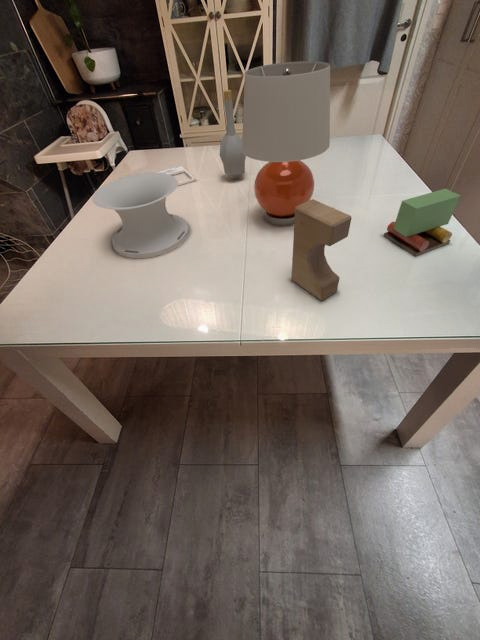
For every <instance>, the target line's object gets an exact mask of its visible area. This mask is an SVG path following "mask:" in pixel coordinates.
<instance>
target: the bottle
mask: <svg viewBox="0 0 480 640" xmlns="http://www.w3.org/2000/svg"><path fill="white" fill-rule="evenodd" d="M222 92H223V104H224V110H225V111H224V112H225V121H226V122H225V123H226V133H225V134H224V136H223V137H222V139H221V141H220V146H219V158H220V160H221V163H222V166H223V172H224V173H225V174H226V175H227V176H229V177H230V178H232V179H233V180H237V179H239V178H240V177H241V176H243V174H244V173H245V172H246V158H247V156H246V155H244V154H243V152H242V139H241V137H240V136H239V135H238V134H237V132H236V128H235V119H234V109H233V108H234V106H233V97H232V89H226V90H225V89H224V90H223V91H222Z"/></svg>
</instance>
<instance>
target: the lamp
mask: <svg viewBox="0 0 480 640" xmlns="http://www.w3.org/2000/svg"><path fill="white" fill-rule="evenodd" d="M243 82H244V83H243V84H244V85H243V89H244V90H243V109H242V111H243V113H242V135H241V136H242V139H241V140H242V152H243V154H244V155H246V158H250V159H251V160H256V161H260V162H267V163H265V164H264V165H263V166H262V167H261V168H260V169H259V171H258V172H257V175H256V177H255V180H254V186H253V191H254V196H255V199H256V202H257V203H258V205H259V206H260V208H261V209H262V210H263V211H264V212H265V220H266V222H267V223H269V224H271V225H274V226H279V227H280V226H281V227H283V226H285V227H286V226H292V225H294V219H295V207H296V206H299V205H301V204H303V203H305V202H307V201H310V200H312V197H313V195H314V191H315V179H314V174H313V171H312V170H311V168H310V166H308V165H307V164H306V163H305V162H303V160H304V161H305V160H309V159H311V158H316V157H317V156H319V155H322V154H324V153H325V152H327V151H328V149H329V148H330V144H331V143H330V142H331V141H330V135H331V133H330V128H331V124H330V123H331V117H330V116H331V64H330V63H329V62H326V61H316V60H315V61H311V60H309V61H307V60H304V61H301V60H300V61H286V62H279V63H278V62H277V63H270V64H264V65H260V66H256V67H253V68H249V69H247V70H246V71H245V72H244V81H243Z"/></svg>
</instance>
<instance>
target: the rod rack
mask: <svg viewBox="0 0 480 640" xmlns="http://www.w3.org/2000/svg"><path fill="white" fill-rule="evenodd" d="M394 224H395V221H391V222H389V224H387V227H386V232H384V233H383V237H384V238H386V239H387V240H389V241H390V242H392V243H394V244H395V245H396V246H398V247H400V248H401V249H403V250H404V251H406V252H408V253H409V254H411V255H412V256H414V257H416V256H417V257H418V256H421V255H423V254H426V253H428V252H430V251H433V250H436V249H439V248H441V247H444V246H447V245H449V244H450V242H451V238H452V237H453V232H452V231H450V230H448V229H446V228H444V227H443V226H440V227H437V228H434V229H430V230H427V231H424V232H421V233H418V234H414V235H411V236H408V237H405V236H404V235H402V234H401V233H399V232H398V231H396V230H394V229H393V228H394Z"/></svg>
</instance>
